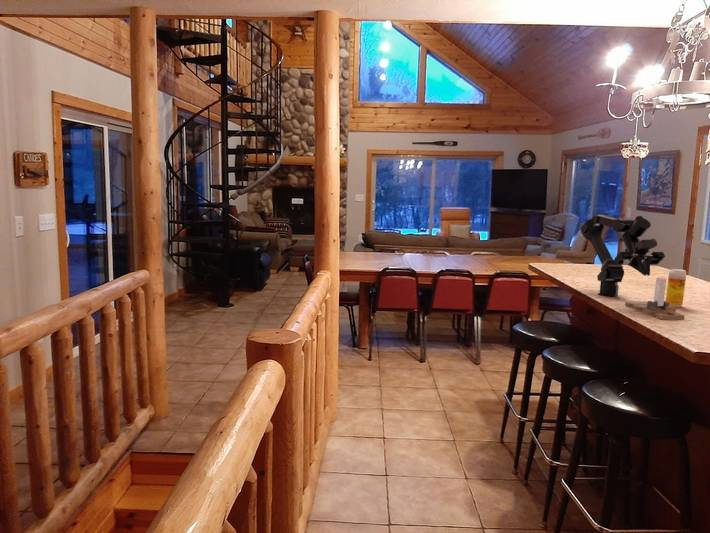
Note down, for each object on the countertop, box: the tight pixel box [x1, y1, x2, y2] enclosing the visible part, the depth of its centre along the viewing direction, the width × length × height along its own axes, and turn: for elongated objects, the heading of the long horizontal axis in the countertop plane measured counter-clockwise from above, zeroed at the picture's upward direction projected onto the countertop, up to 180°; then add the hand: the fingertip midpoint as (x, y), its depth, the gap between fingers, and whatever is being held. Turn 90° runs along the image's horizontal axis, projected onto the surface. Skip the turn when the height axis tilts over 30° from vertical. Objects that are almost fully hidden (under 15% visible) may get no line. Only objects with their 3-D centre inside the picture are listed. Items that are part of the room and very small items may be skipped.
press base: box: [624, 300, 685, 320], centre depth 205 cm, size 22×9×5 cm, turn 7°
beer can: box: [665, 268, 687, 308], centre depth 216 cm, size 6×6×15 cm
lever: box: [653, 277, 667, 308], centre depth 202 cm, size 2×3×12 cm
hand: (647, 275), depth 209 cm, fingers closed
